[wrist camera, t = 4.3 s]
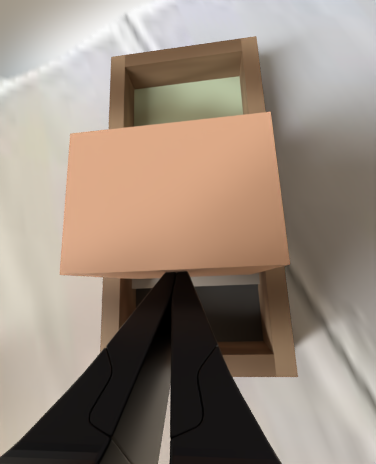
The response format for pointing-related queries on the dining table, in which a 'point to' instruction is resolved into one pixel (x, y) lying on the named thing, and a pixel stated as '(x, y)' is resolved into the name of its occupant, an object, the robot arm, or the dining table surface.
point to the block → (174, 200)
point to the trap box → (194, 108)
